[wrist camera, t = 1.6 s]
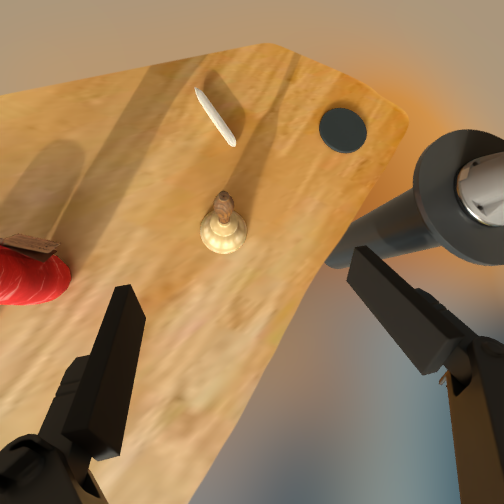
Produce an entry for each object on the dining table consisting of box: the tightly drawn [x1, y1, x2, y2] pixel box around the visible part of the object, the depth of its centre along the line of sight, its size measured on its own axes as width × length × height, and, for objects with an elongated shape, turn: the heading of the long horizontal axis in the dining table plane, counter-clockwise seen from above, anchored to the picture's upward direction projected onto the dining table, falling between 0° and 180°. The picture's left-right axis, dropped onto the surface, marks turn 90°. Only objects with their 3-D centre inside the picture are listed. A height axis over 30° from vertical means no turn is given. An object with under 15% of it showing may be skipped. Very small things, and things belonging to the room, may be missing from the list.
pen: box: [195, 87, 236, 147], centre depth 45 cm, size 2×14×2 cm, turn 34°
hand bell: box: [200, 191, 247, 254], centre depth 35 cm, size 8×8×16 cm
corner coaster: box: [319, 108, 367, 153], centre depth 49 cm, size 10×10×1 cm
